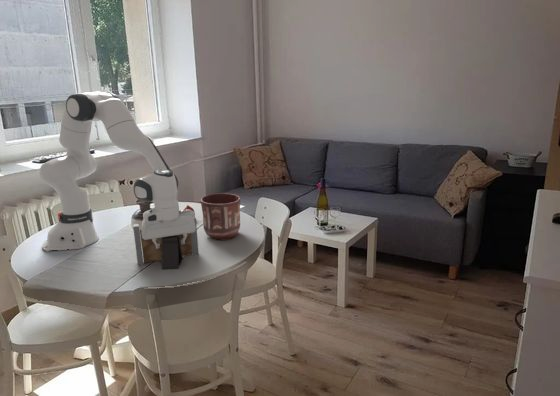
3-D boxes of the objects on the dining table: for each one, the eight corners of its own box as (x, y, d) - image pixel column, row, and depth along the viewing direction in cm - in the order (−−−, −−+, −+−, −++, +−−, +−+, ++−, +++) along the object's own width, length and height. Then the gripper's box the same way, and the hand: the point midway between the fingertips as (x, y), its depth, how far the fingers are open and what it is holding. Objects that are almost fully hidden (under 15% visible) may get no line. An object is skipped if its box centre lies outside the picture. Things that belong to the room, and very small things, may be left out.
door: (144, 264, 166) (140, 231, 162) (143, 261, 169) (139, 228, 165) (193, 256, 173) (191, 223, 169) (192, 252, 176) (189, 221, 172)
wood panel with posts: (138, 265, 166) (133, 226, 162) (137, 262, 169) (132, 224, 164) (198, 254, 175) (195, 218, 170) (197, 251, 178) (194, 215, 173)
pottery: (206, 245, 184) (203, 205, 179) (200, 231, 200) (197, 194, 195) (245, 240, 189) (244, 201, 184) (236, 227, 205) (235, 191, 200)
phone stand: (177, 269, 162) (174, 240, 159) (162, 269, 162) (159, 240, 159) (183, 259, 171) (180, 231, 167) (168, 259, 171) (165, 231, 168)
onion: (195, 217, 219) (194, 203, 216) (194, 221, 213) (192, 206, 211) (184, 218, 219) (183, 203, 216) (182, 222, 213) (181, 206, 211)
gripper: (193, 206, 167) (195, 239, 171) (138, 213, 160) (142, 247, 164) (196, 211, 161) (198, 244, 165) (140, 218, 154) (144, 253, 158)
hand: (170, 246), depth 165 cm, fingers open, 8 cm apart
